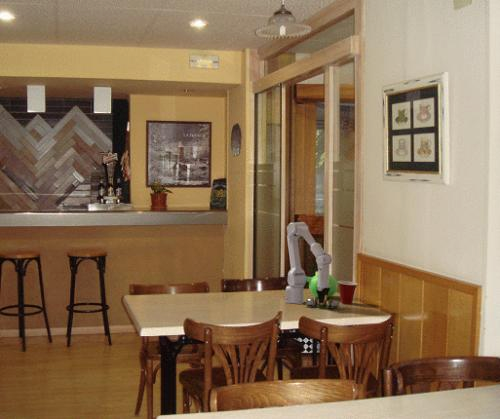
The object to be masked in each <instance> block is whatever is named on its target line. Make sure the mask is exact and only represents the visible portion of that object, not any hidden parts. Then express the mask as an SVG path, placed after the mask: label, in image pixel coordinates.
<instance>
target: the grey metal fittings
mask: <svg viewBox="0 0 500 419" xmlns="http://www.w3.org/2000/svg"><path fill="white" fill-rule="evenodd" d="M318 300H319V298H318V297H314V298H311V297H306V300H305V304H306V308H309V309H311V308H315V309H316V308H320V309H319V310H330V309H331V310H332V309H333V311H338V310H339V309H340V301H339V300H334V299H332V298H329V299H328V300H327V307H319V306H318ZM328 308H329V309H328ZM337 309H338V310H337Z"/></svg>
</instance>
